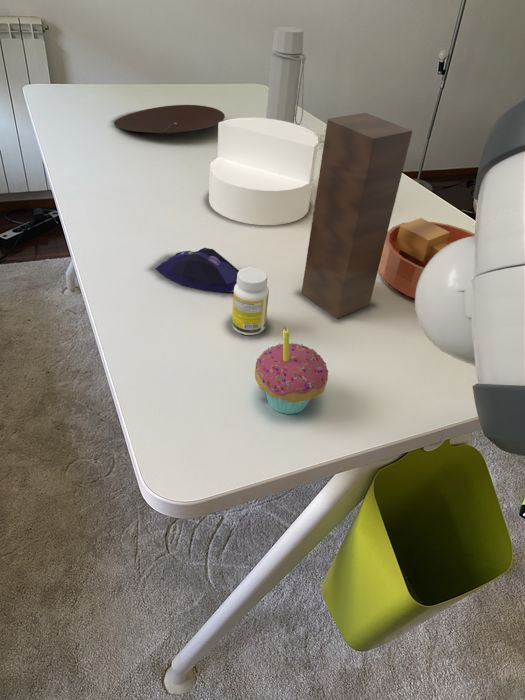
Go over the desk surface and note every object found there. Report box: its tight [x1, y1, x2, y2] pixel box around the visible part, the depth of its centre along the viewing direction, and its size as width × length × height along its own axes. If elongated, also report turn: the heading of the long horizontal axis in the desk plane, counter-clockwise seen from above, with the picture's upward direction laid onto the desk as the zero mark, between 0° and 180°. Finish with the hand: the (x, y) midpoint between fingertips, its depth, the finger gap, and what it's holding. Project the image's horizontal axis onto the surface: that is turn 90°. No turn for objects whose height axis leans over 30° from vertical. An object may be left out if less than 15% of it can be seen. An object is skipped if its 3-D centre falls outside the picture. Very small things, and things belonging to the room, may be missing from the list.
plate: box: [113, 104, 226, 135], centre depth 140 cm, size 28×28×4 cm
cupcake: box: [254, 324, 329, 415], centre depth 63 cm, size 9×8×12 cm
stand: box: [301, 112, 413, 320], centre depth 76 cm, size 8×7×26 cm
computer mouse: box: [155, 247, 240, 294], centre depth 86 cm, size 9×15×4 cm, turn 64°
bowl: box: [378, 221, 475, 299], centre depth 90 cm, size 18×18×6 cm
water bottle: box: [265, 26, 307, 126], centre depth 132 cm, size 9×8×25 cm
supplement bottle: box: [231, 266, 270, 336], centre depth 75 cm, size 5×5×8 cm
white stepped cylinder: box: [208, 117, 319, 226], centre depth 106 cm, size 20×20×13 cm
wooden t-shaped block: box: [395, 217, 450, 262], centre depth 88 cm, size 15×6×4 cm, turn 39°
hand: (520, 184), depth 75 cm, fingers open, 8 cm apart
